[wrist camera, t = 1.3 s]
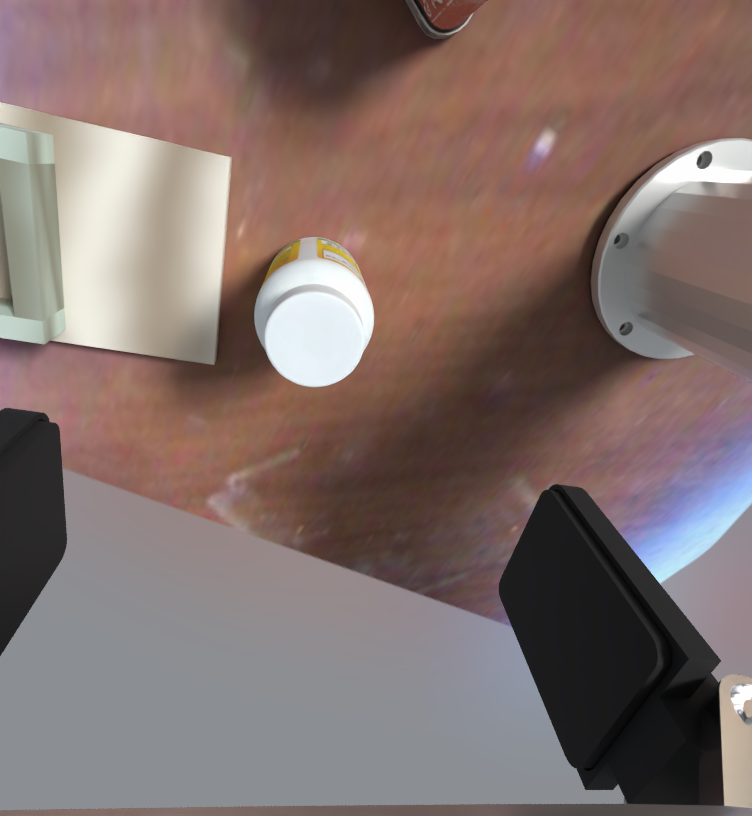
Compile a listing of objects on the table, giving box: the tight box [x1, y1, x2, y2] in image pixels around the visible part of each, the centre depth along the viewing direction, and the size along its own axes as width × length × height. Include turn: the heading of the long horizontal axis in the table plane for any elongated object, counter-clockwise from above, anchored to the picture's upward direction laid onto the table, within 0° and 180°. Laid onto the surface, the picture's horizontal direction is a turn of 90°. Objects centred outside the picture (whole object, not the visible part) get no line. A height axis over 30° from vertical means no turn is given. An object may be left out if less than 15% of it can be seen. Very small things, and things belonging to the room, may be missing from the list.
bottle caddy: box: [0, 102, 232, 365], centre depth 23 cm, size 18×11×3 cm, turn 77°
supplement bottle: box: [254, 237, 374, 387], centre depth 23 cm, size 5×5×10 cm
